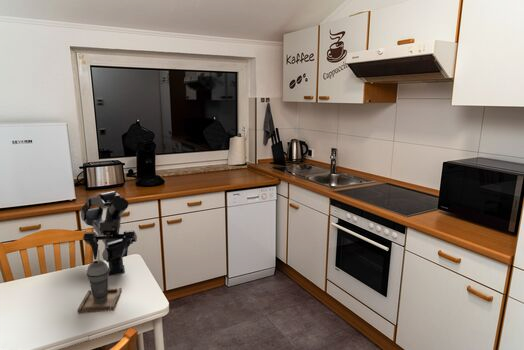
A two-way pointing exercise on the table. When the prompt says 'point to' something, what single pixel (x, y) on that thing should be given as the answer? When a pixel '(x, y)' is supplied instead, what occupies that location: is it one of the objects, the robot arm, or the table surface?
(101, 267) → the beverage cup
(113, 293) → the walnut tray
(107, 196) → the robot arm
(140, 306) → the table surface
